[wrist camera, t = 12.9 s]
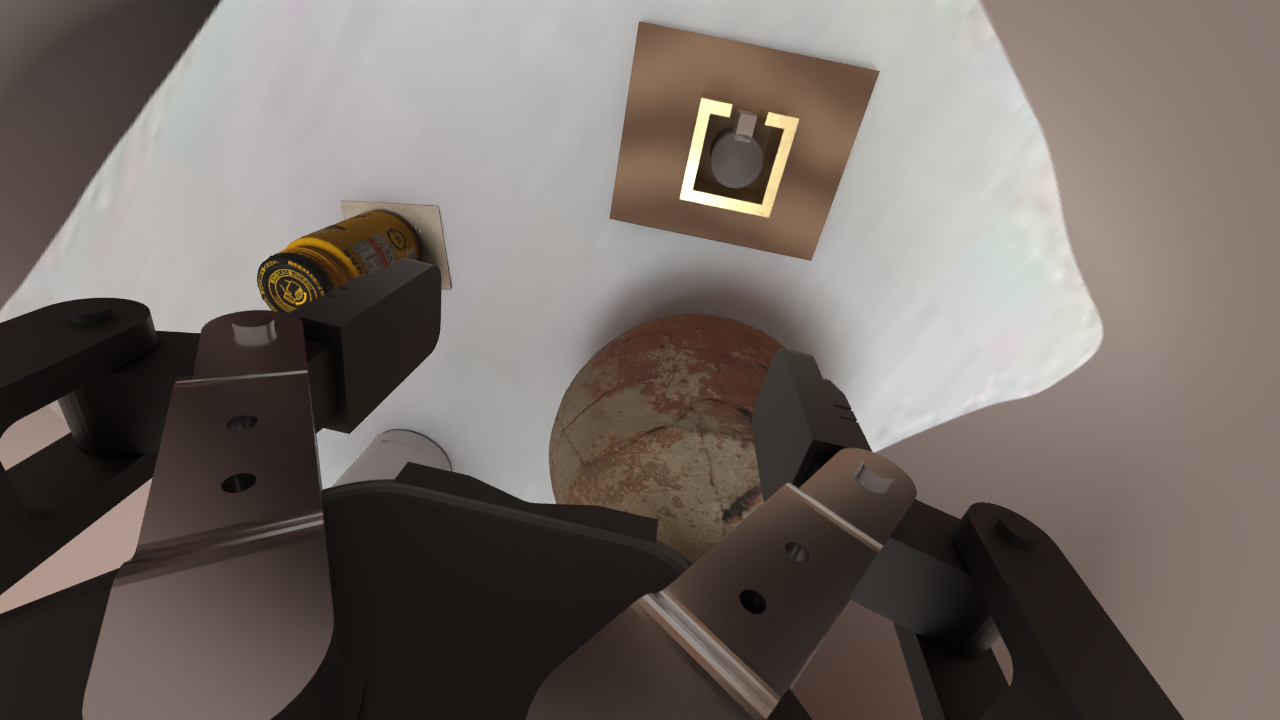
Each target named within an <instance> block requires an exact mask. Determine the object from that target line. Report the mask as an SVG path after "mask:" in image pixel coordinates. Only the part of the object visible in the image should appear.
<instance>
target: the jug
mask: <svg viewBox="0 0 1280 720" xmlns="http://www.w3.org/2000/svg"><path fill="white" fill-rule="evenodd" d="M780 348H783V349H786V348H785V347H784V346H783V345H782V344H780V343H779V342H778V341H776V340H775V339H773V338H772V337H770V336H768V335H767V334H765V333H763V332H762V331H760V330H758V329H755V328H753V327H751V326H748V325H746V324H743V323H741V322H738V321H735V320H731V319H726V318H722V317H718V316H709V315H697V314H692V315H677V316H668V317H664V318H660V319H656V320H653V321H650V322H647V323H644V324H642V325H640V326H637V327H635V328H633V329H631V330H630V331H628V332H626V333H624V334H622V335H621V336H619V337H618V338H616V339H614V340H613V341H611V342H610V343H609V344H607V345H606V346H605V347H603V348H602V349H601V350H599V351H598V352H597V353H596V354H595V355H594V356H593V357H592V358H591V359H590V360H589V361H588V363H587V364H586V365H585V366H584V367H583V368H582V369H581V370H580V371H579V373H578V374H577V375H576V377H575V378H574V380H573V381H572V383H571V385H570V386H569V388H568V389H567V390H566V392H565V394H564V397H563V399H562V402H561V404H560V407H559V410H558V412H557V415H556V418H555V422H554V425H553V429H552V433H551V438H550V445H549V466H550V476H551V482H552V488H553V493H554V497H555V500H556V504H570V505H598V506H602V507H606V508H610V509H615V510H619V511H623V512H628V513H632V514H636V515H641V516H645V517H649V518H654V519H658V527H657V538H656V539H657V540H659V541H661V542H663V543H665V544H667V545H668V546H670V547H672V548H674V549H675V550H677V551H678V552H680V553H681V554H683V555H684V556H685V557H687V558H688V559H689V560H691V561H692V562H693V563H695V562H696V561H698V560H699V559H700V558H701V557H702V556H703V555H705V554H706V553H707V552H708V551H709V550H710V549H711V548H713V547H714V546H715V545H716V544H717V543H718V542H719V541H721V540H722V539H723V538H724V537H725V536H726V535H727V534H729V533H730V532H731V531H732V530H733V529H734V528H735V527H737V526H738V525H739V524H740V523H741V522H742V521H744V520H745V519H746V518H747V517H748V516H749V515H750V514H752V513H753V512H754V511H755V510H756V509H757V508H758V507H760V506H761V505H762V504H763V503H764V502H763V496H762V489H761V483H760V477H759V471H758V465H757V459H756V452H755V446H754V440H753V434H752V416H753V411H754V408H755V404H756V402H757V399H758V396H759V394H760V391H761V389H762V386H763V384H764V381H765V378H766V376H767V373H768V371H769V368H770V366H771V363H772V360H773V358H774V356H775V354H776V352H777V351H778V350H779V349H780ZM787 350H788V349H787Z"/></svg>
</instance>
